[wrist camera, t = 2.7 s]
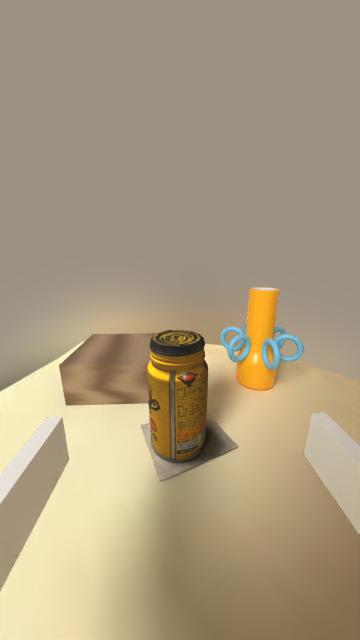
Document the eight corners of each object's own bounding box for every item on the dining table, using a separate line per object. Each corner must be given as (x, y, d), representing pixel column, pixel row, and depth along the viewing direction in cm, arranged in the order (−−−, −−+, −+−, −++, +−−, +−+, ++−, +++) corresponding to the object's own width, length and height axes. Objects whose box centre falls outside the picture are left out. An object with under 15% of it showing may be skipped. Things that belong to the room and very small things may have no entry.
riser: (159, 362, 41) (158, 333, 39) (154, 402, 29) (152, 363, 27) (96, 364, 40) (92, 334, 39) (66, 405, 29) (59, 365, 27)
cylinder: (207, 386, 33) (211, 290, 29) (227, 360, 42) (231, 283, 38) (296, 412, 27) (316, 297, 23) (297, 375, 36) (311, 287, 32)
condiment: (140, 426, 25) (134, 330, 22) (202, 407, 28) (205, 321, 25) (160, 483, 19) (155, 359, 15) (237, 449, 22) (247, 341, 19)
